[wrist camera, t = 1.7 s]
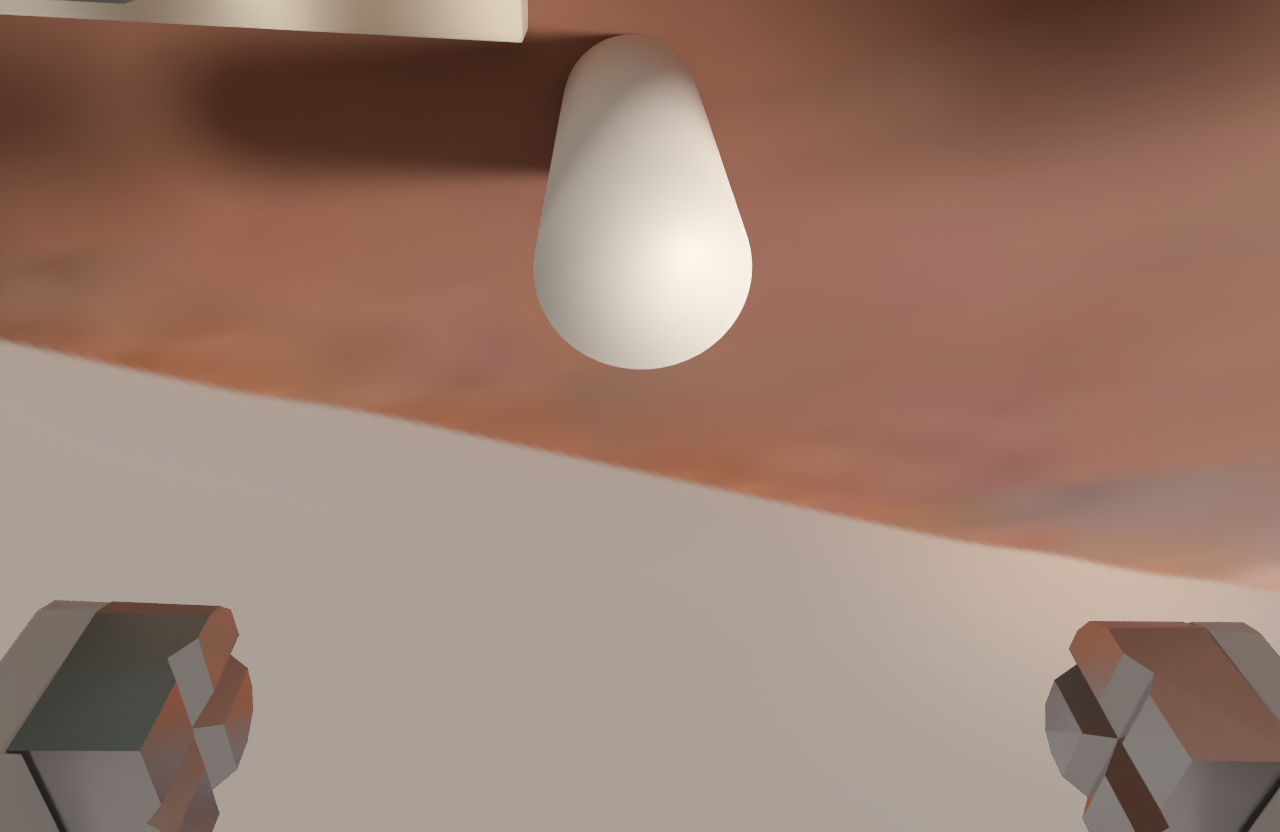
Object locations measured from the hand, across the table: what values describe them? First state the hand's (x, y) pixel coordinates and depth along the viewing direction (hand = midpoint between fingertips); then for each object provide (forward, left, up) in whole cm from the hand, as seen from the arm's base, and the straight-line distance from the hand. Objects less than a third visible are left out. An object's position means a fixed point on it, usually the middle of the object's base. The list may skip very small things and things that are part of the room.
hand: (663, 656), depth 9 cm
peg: (0, 0, -21) cm, 21 cm away
